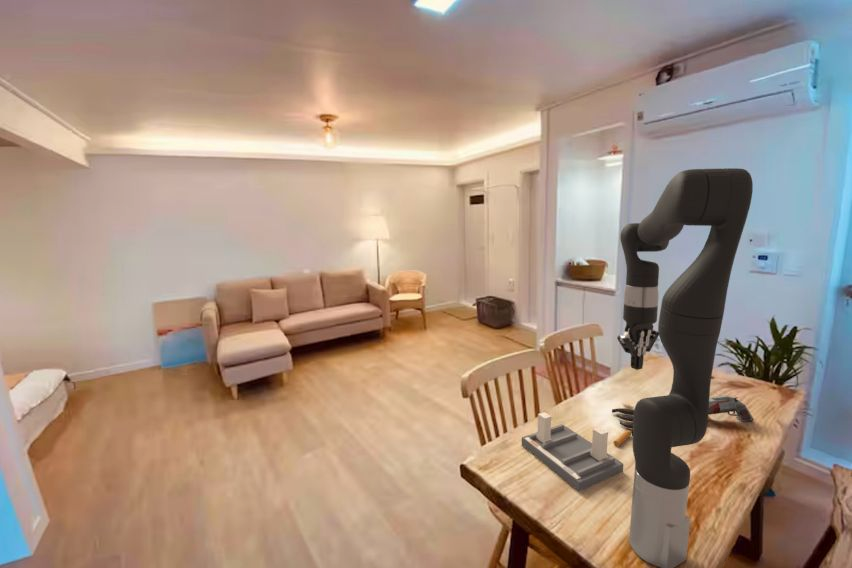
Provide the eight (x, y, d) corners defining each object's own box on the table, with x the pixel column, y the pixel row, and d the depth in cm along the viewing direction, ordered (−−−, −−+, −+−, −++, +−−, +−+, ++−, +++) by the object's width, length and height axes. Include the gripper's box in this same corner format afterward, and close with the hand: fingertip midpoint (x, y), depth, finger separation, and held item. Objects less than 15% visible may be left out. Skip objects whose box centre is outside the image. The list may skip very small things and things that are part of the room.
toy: (676, 472, 103) (698, 424, 124) (677, 460, 102) (699, 414, 123) (590, 439, 118) (622, 402, 139) (590, 428, 118) (623, 393, 139)
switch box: (622, 472, 102) (623, 459, 101) (578, 491, 95) (579, 478, 95) (561, 431, 122) (562, 420, 121) (521, 444, 115) (521, 433, 114)
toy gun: (682, 423, 131) (679, 396, 129) (747, 417, 127) (745, 389, 125) (688, 430, 126) (685, 402, 125) (756, 424, 122) (754, 395, 121)
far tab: (551, 442, 111) (552, 417, 110) (544, 444, 110) (545, 419, 109) (542, 436, 114) (543, 411, 113) (536, 438, 113) (537, 413, 112)
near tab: (607, 459, 103) (609, 432, 101) (601, 462, 102) (602, 435, 100) (596, 452, 106) (598, 426, 104) (590, 455, 105) (591, 428, 103)
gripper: (635, 308, 90) (631, 378, 93) (672, 302, 95) (667, 368, 98) (609, 303, 97) (606, 368, 100) (644, 297, 102) (641, 359, 105)
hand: (636, 368), depth 99 cm, fingers closed
